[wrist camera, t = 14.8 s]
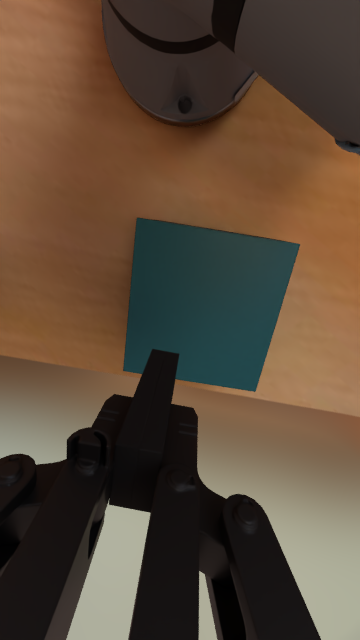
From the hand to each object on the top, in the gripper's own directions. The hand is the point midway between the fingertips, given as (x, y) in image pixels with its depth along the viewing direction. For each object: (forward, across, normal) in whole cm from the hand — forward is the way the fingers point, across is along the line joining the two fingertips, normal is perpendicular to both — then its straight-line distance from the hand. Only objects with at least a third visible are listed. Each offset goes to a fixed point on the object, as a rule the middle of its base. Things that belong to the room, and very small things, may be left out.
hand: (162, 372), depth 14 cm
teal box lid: (+13, +2, 0) cm, 13 cm away
